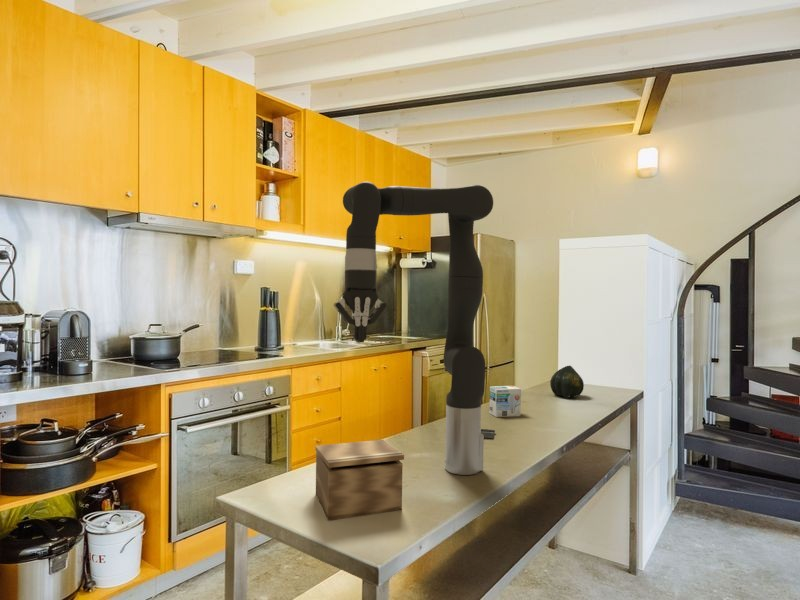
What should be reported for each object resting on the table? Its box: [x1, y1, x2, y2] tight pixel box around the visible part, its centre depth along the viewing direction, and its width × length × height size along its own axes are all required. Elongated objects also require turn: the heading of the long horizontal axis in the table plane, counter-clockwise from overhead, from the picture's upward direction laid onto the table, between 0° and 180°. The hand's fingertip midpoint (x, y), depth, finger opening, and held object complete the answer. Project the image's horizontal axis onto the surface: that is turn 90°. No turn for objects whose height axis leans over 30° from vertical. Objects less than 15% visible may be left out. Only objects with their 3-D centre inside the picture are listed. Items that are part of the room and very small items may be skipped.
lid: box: [315, 439, 405, 468], centre depth 110 cm, size 16×14×1 cm
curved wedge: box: [481, 428, 496, 440], centre depth 164 cm, size 8×14×2 cm, turn 76°
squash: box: [549, 365, 585, 399], centre depth 229 cm, size 14×15×15 cm
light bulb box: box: [488, 385, 522, 418], centre depth 192 cm, size 11×7×11 cm, turn 104°
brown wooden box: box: [315, 451, 403, 522], centre depth 110 cm, size 16×14×10 cm
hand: (359, 341), depth 117 cm, fingers closed
